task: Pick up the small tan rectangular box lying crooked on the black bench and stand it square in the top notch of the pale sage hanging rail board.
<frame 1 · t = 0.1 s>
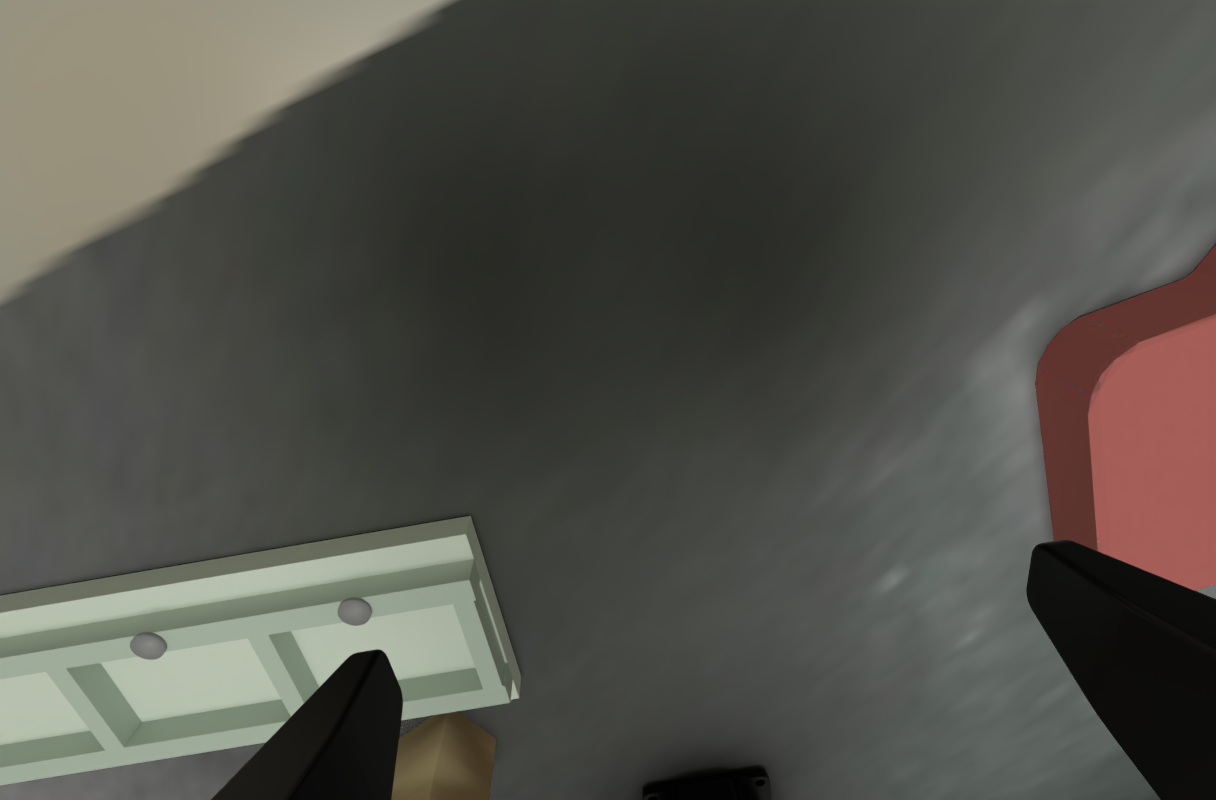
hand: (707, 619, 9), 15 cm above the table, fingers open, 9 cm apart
tan rectangular box: (428, 750, 31), on the table
rail board: (214, 648, 27), on the table
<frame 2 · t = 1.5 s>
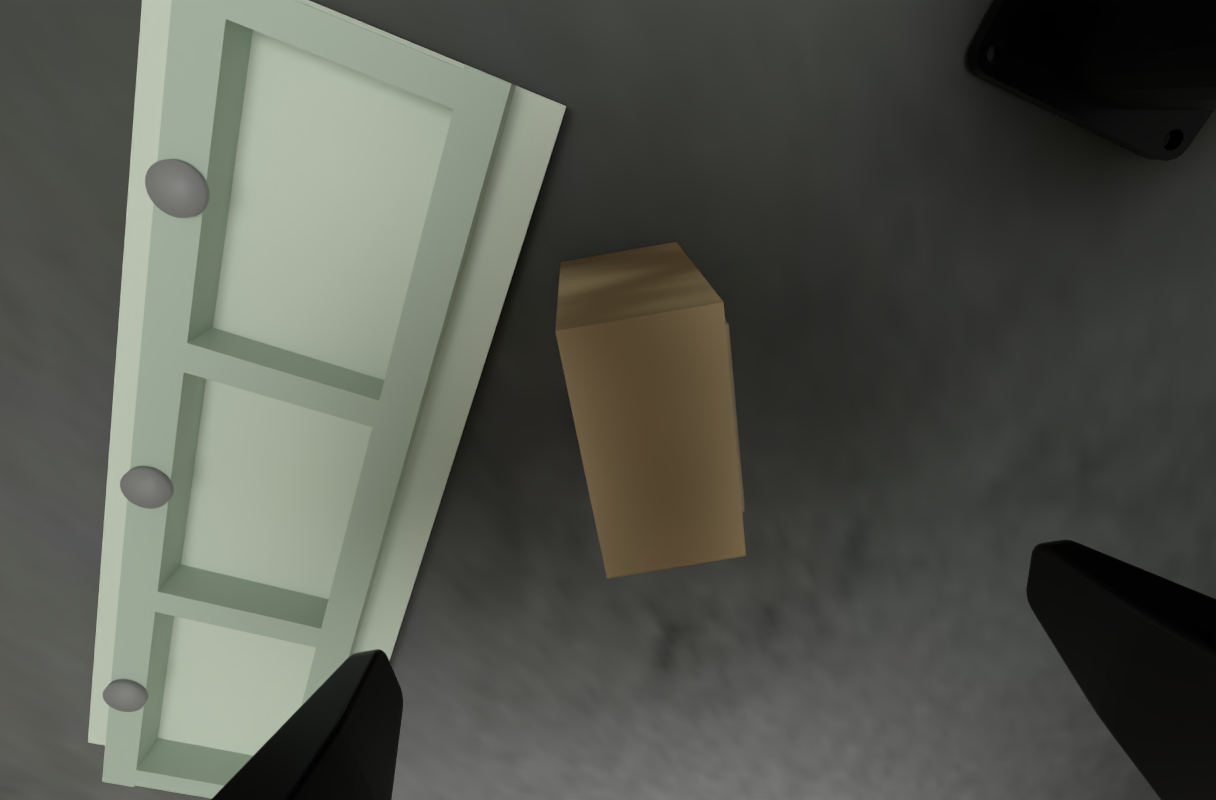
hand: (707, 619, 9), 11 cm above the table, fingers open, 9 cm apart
tan rectangular box: (633, 353, 19), on the table
rail board: (294, 468, 19), on the table
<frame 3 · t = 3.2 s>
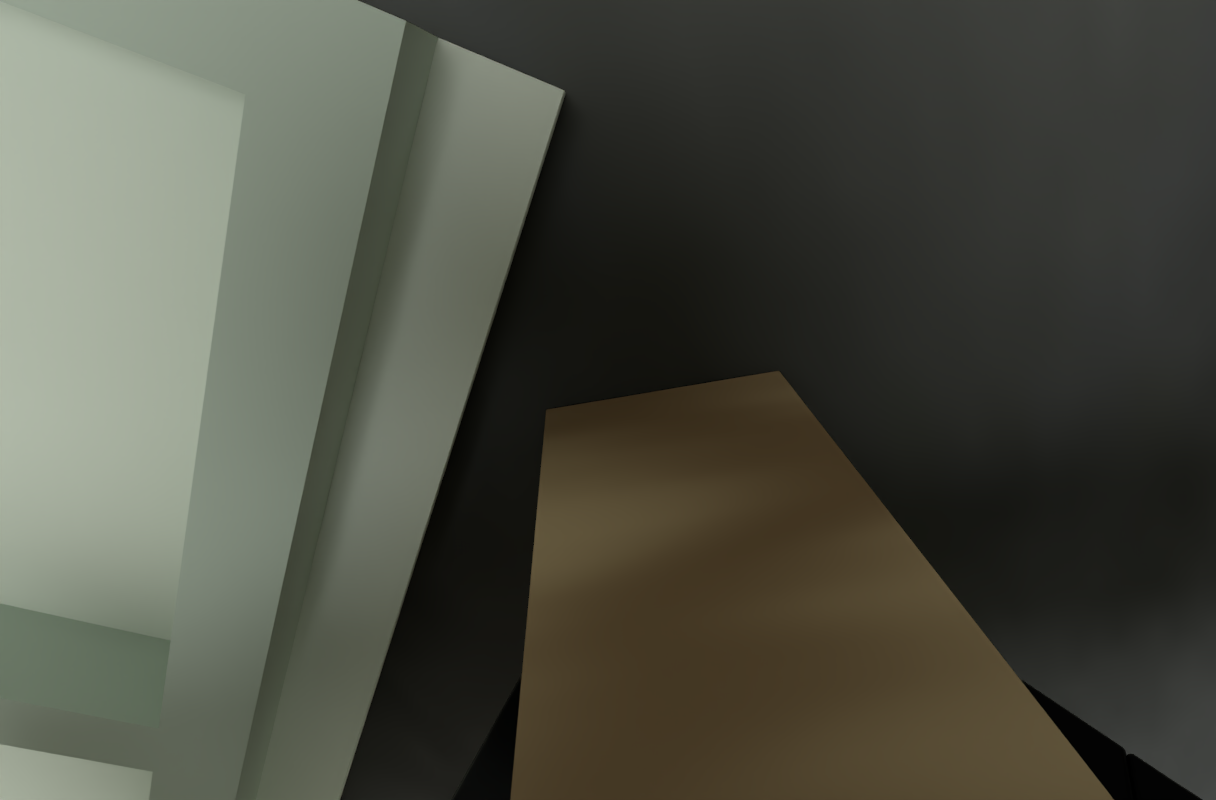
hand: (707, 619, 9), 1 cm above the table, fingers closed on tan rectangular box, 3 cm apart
tan rectangular box: (685, 563, 10), on the table, touching gripper
rail board: (75, 746, 11), on the table
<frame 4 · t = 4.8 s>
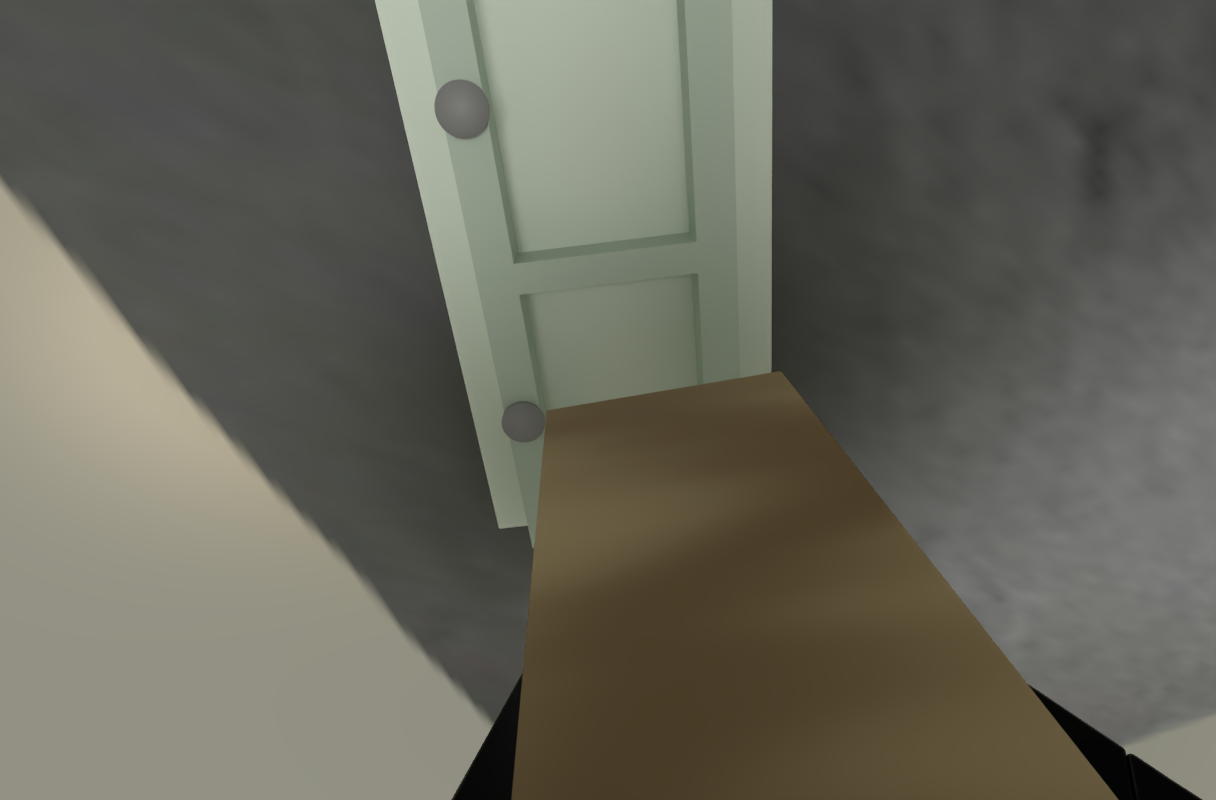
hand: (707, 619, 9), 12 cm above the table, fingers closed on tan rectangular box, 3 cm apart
tan rectangular box: (687, 565, 10), point 11 cm above the table, touching gripper
rail board: (585, 93, 16), on the table
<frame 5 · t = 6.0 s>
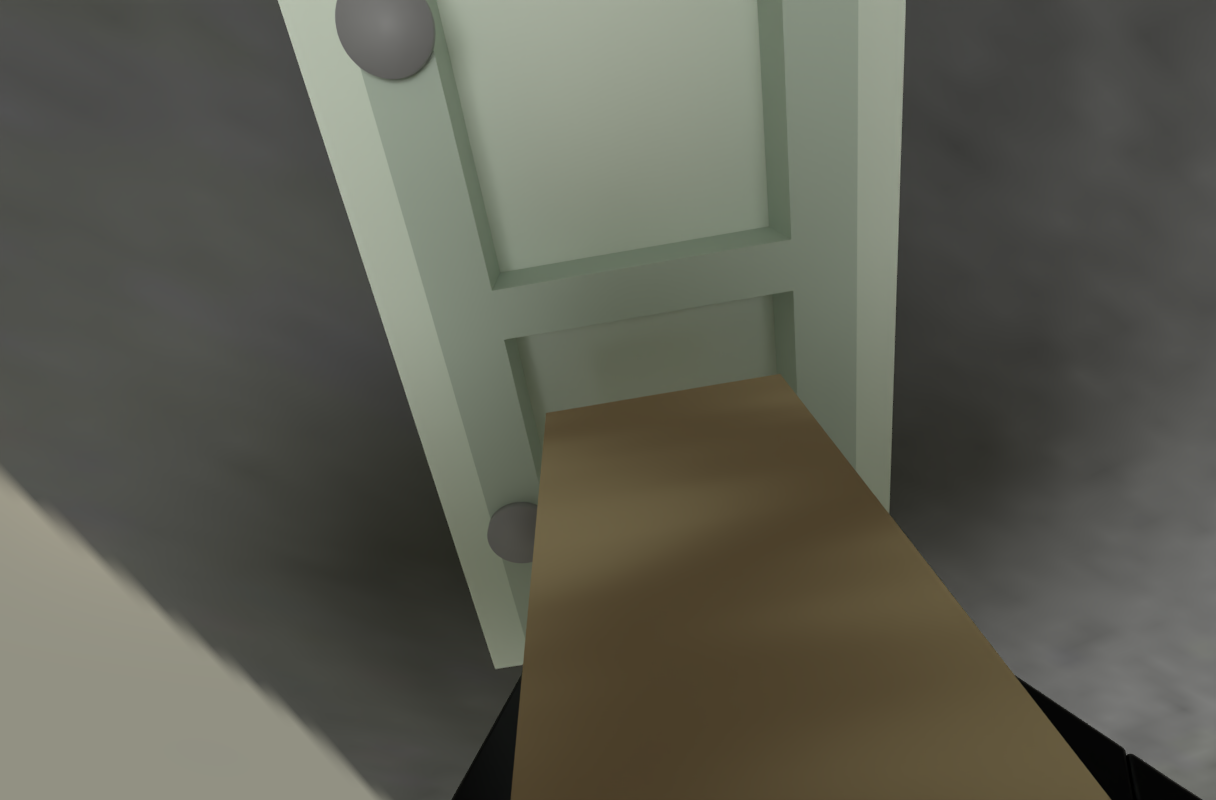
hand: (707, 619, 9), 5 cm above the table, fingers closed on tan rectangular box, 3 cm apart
tan rectangular box: (686, 567, 10), point 4 cm above the table, touching gripper
rail board: (596, 14, 10), on the table
when the fingers open (3 cm above the table, at t = 6.7 s): tan rectangular box stays where it is, resting on rail board.
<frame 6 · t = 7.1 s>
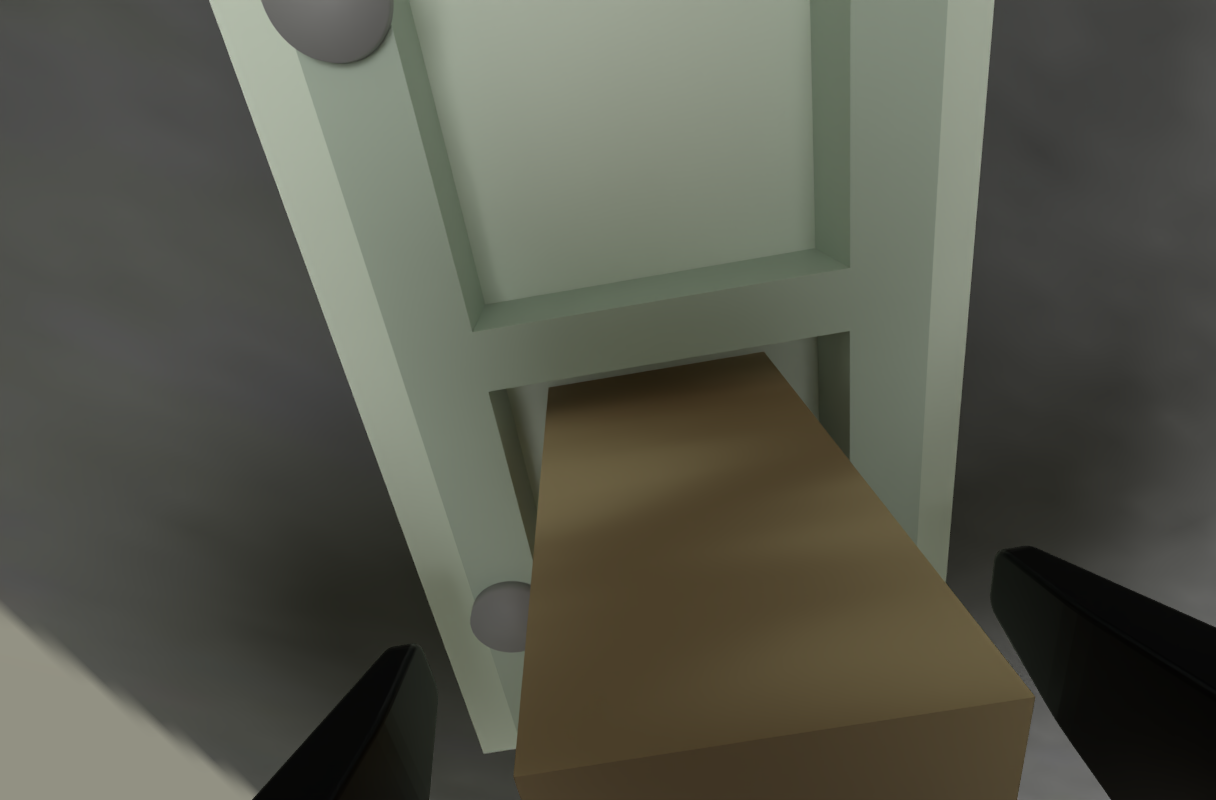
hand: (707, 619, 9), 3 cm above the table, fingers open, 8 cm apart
tan rectangular box: (678, 534, 11), point 1 cm above the table, touching rail board
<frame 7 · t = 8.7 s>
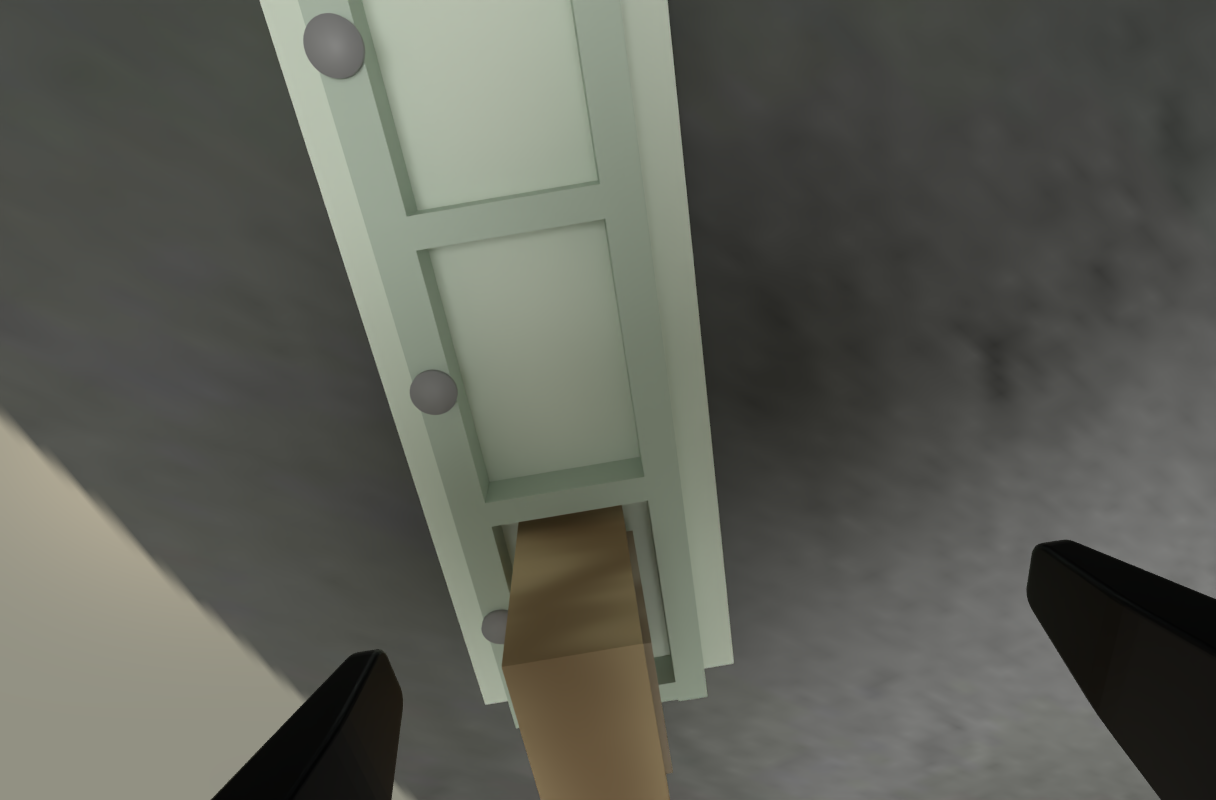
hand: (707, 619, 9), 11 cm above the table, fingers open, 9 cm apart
tan rectangular box: (586, 584, 21), point 1 cm above the table, touching rail board
rail board: (542, 344, 19), on the table
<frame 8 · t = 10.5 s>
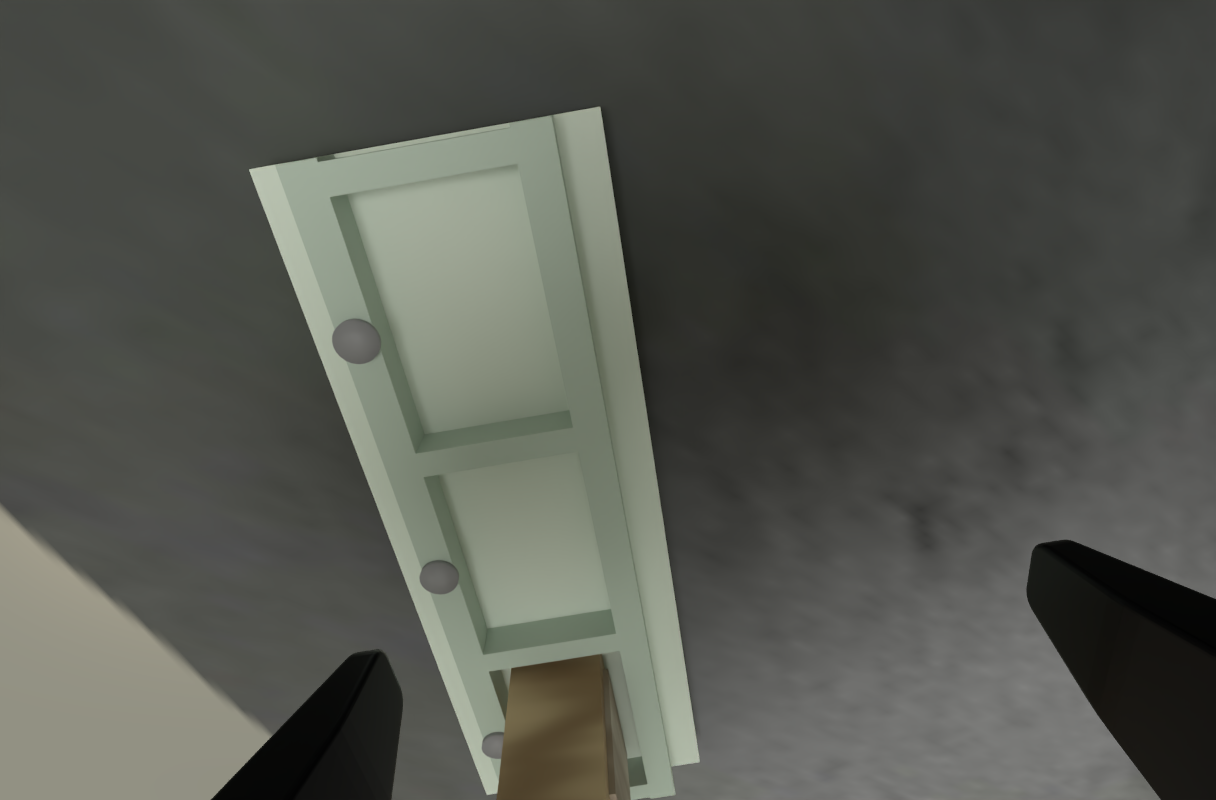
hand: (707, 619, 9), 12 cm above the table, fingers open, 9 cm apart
tan rectangular box: (570, 703, 25), point 1 cm above the table, touching rail board
rail board: (531, 516, 22), on the table
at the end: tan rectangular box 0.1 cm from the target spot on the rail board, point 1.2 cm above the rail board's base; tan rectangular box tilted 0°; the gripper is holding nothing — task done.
